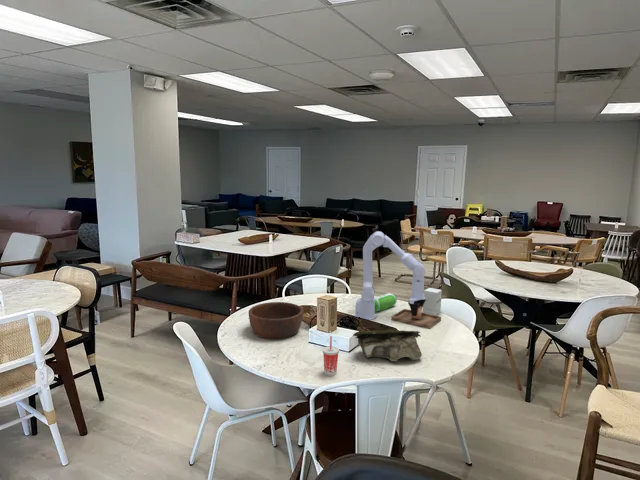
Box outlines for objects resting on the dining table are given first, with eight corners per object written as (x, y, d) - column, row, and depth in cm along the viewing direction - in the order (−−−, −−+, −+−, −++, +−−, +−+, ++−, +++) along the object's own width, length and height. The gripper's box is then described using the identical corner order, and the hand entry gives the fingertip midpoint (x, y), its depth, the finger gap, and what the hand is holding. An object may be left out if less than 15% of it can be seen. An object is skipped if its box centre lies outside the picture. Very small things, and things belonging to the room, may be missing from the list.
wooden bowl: (312, 326, 199) (312, 306, 198) (286, 346, 177) (286, 323, 175) (267, 318, 210) (267, 299, 208) (237, 336, 187) (237, 314, 186)
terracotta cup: (409, 317, 209) (410, 306, 208) (413, 314, 213) (413, 304, 212) (419, 319, 206) (419, 308, 205) (422, 316, 210) (423, 306, 209)
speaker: (377, 314, 218) (377, 300, 217) (366, 310, 224) (366, 297, 222) (397, 307, 230) (397, 293, 229) (386, 304, 235) (387, 291, 234)
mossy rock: (353, 368, 168) (354, 354, 156) (351, 338, 175) (352, 322, 163) (423, 367, 167) (429, 353, 155) (418, 337, 175) (424, 321, 163)
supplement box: (435, 316, 216) (436, 292, 214) (422, 313, 220) (423, 290, 218) (440, 312, 221) (442, 289, 219) (427, 309, 226) (428, 287, 224)
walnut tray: (391, 320, 209) (391, 316, 209) (404, 312, 221) (404, 308, 221) (429, 329, 198) (429, 325, 197) (440, 320, 210) (441, 316, 209)
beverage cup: (337, 377, 151) (338, 340, 148) (320, 375, 152) (321, 339, 149) (339, 369, 157) (340, 334, 154) (323, 367, 158) (324, 332, 155)
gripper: (419, 292, 199) (418, 319, 201) (431, 286, 210) (429, 312, 213) (405, 290, 203) (404, 316, 205) (417, 283, 214) (416, 309, 217)
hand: (416, 314), depth 209 cm, fingers closed on terracotta cup, 5 cm apart
